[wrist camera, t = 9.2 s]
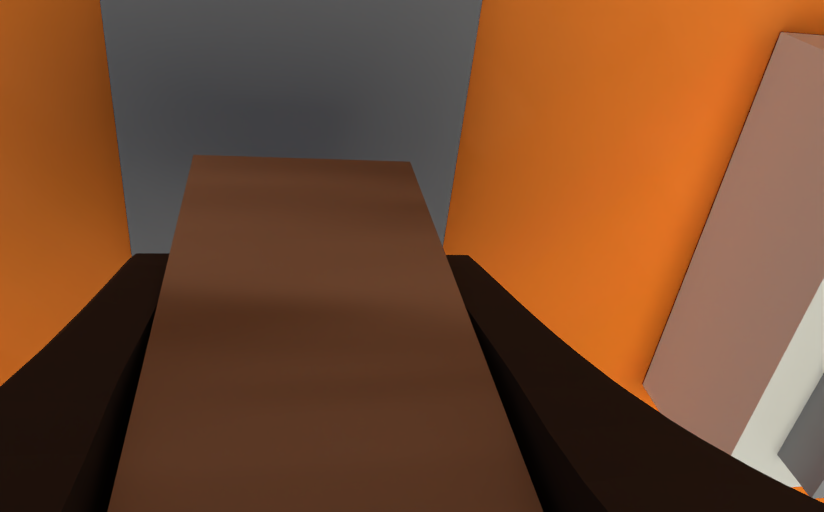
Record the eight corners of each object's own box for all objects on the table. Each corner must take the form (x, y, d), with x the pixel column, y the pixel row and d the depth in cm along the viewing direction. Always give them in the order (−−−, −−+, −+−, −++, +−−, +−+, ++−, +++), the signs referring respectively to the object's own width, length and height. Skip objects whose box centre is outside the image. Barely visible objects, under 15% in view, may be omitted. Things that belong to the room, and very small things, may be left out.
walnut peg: (390, 324, 13) (504, 830, 7) (204, 328, 13) (126, 896, 6) (409, 161, 11) (590, 638, 5) (193, 154, 11) (63, 699, 4)
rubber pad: (436, 263, 19) (438, 270, 19) (136, 261, 18) (133, 270, 17) (483, -40, 15) (487, -37, 15) (95, -78, 13) (90, -75, 13)
